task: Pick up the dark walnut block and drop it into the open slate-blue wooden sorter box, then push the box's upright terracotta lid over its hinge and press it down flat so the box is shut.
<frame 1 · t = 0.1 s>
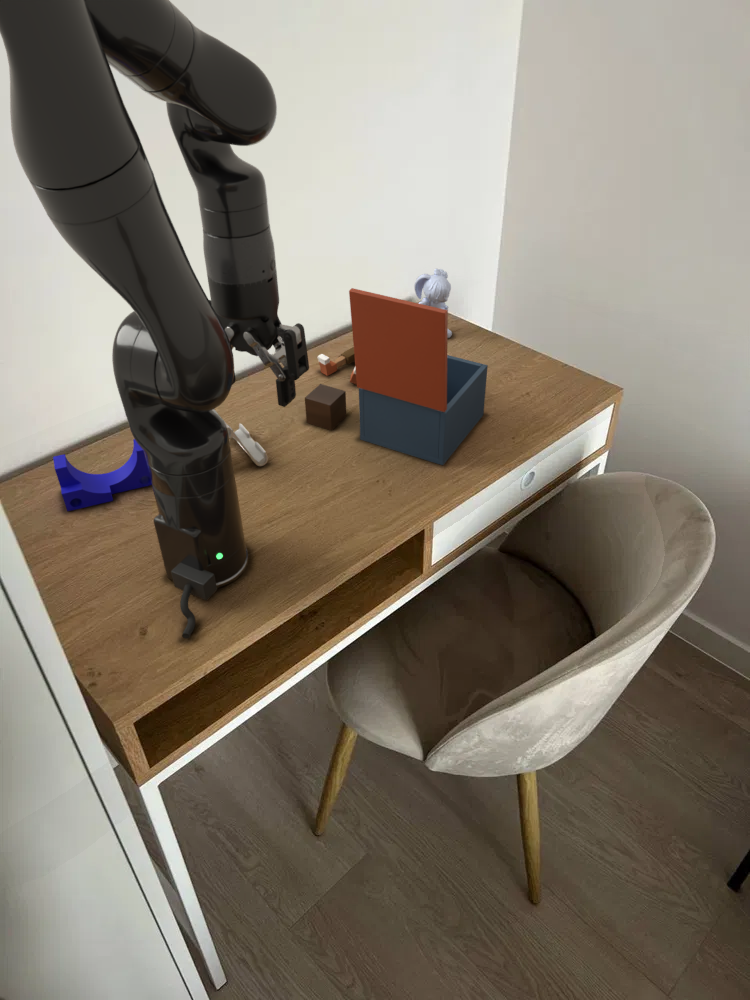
hand: (256, 394, 99), 17 cm above the table, tool pointing down, fingers open, 8 cm apart
blue cradle bracket: (111, 492, 112), on the table
walnut block: (326, 419, 125), on the table
toy figurine: (434, 336, 145), on the table
sorter box: (422, 427, 123), on the table
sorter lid: (399, 351, 107), point 17 cm above the table, hinge at 95.0°
tablet stand: (231, 458, 118), on the table
character figurine: (370, 360, 139), on the table
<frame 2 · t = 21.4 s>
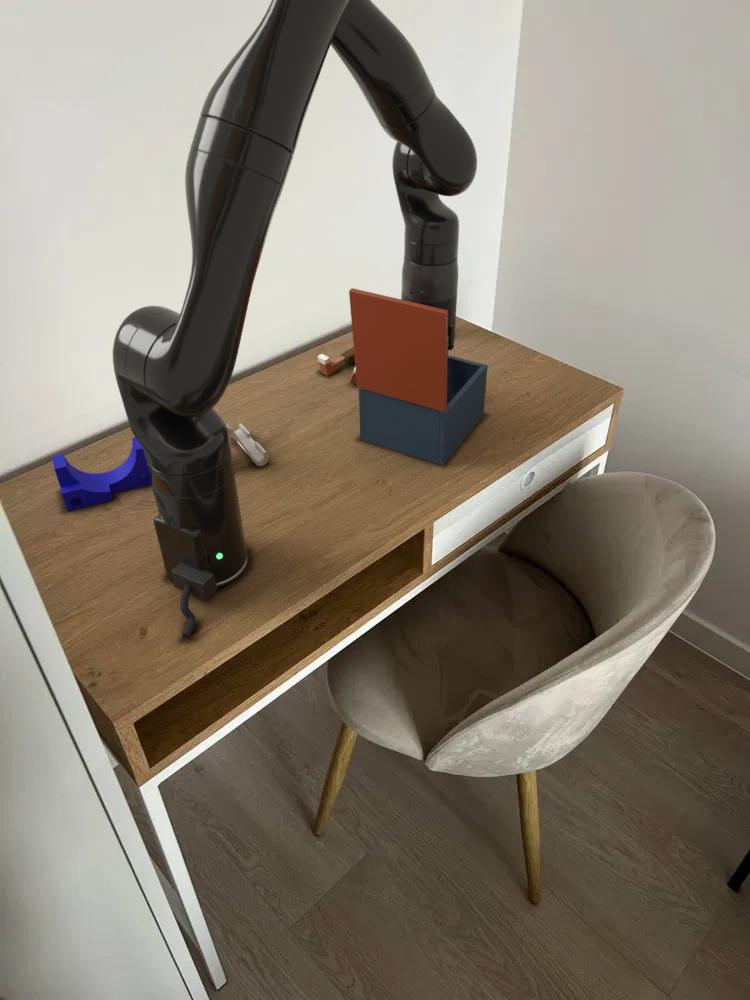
hand: (425, 392, 120), 6 cm above the table, tool pointing down, fingers open, 7 cm apart
walnut block: (425, 419, 123), point 1 cm above the table, touching sorter box
everything else where it was.
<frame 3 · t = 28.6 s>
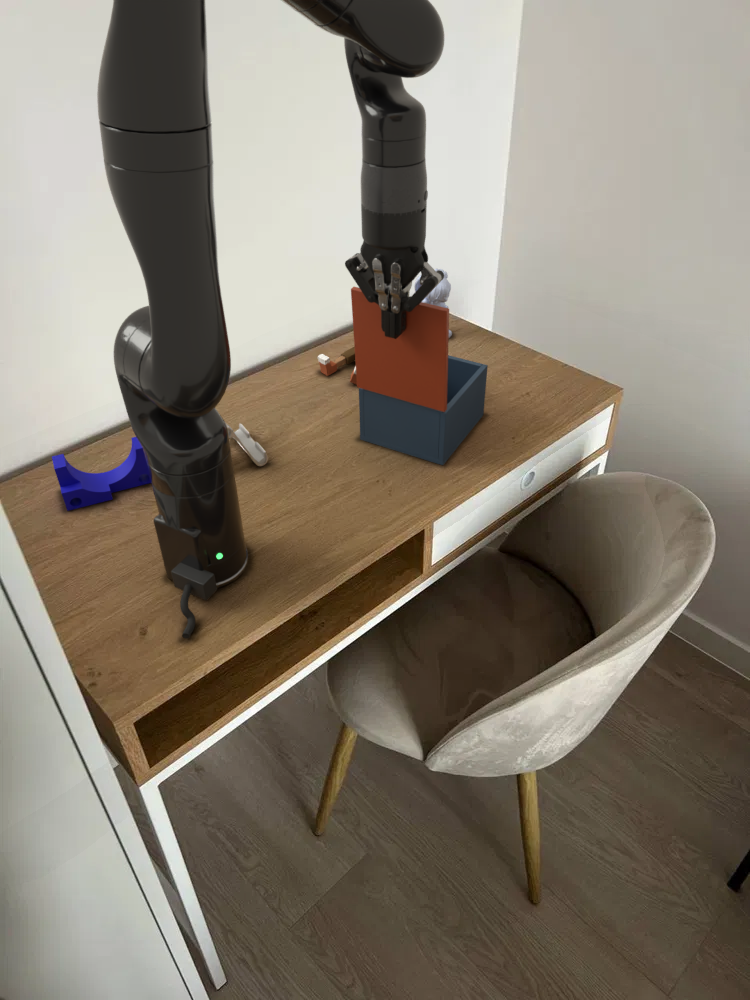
hand: (393, 335, 104), 20 cm above the table, tool pointing down, fingers closed
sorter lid: (400, 350, 107), point 17 cm above the table, hinge at 93.2°, touching gripper, hand
everything else where it was.
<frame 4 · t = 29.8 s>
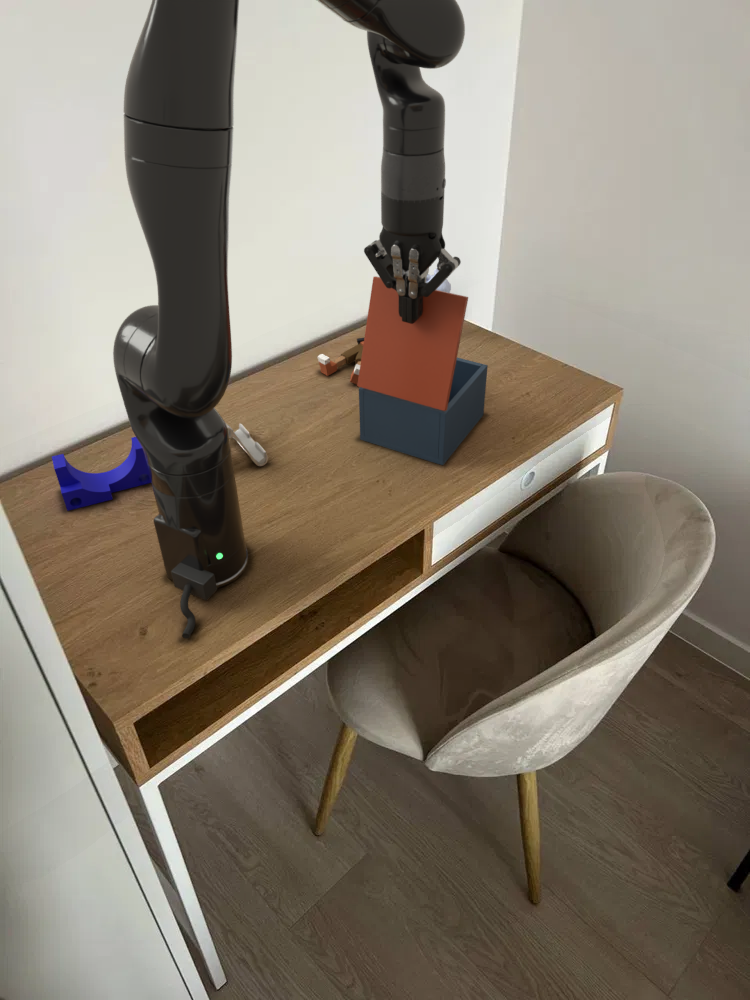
hand: (410, 320, 107), 20 cm above the table, tool pointing down, fingers closed
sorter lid: (410, 343, 109), point 16 cm above the table, hinge at 70.4°, touching gripper
everything else where it was.
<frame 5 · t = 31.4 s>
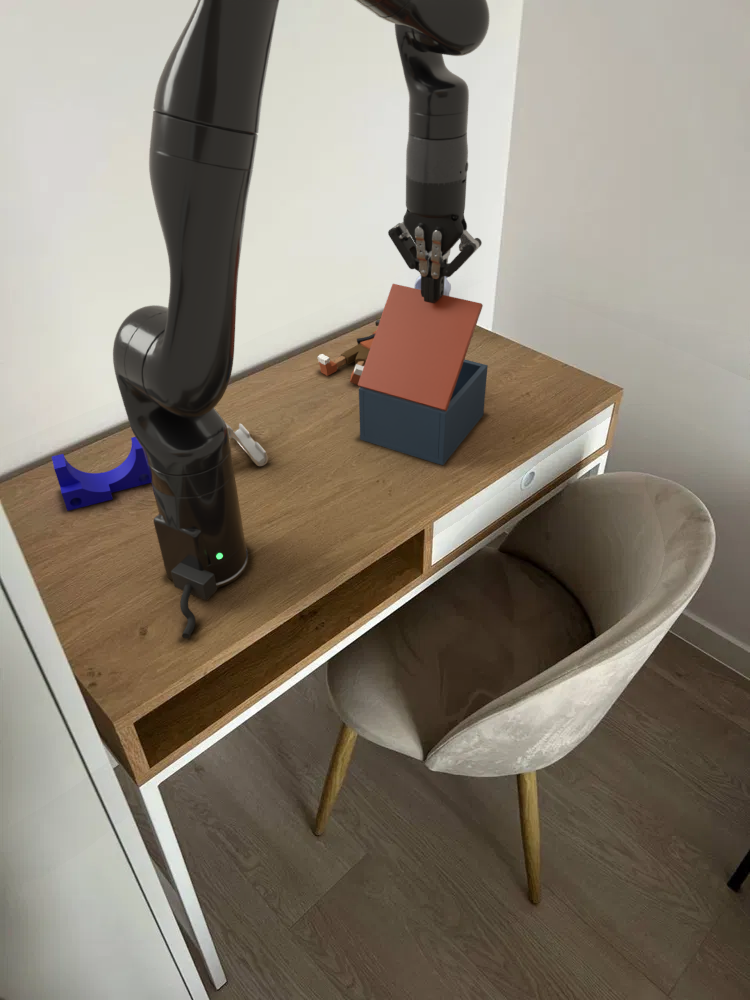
hand: (432, 300, 111), 20 cm above the table, tool pointing down, fingers closed
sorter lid: (419, 346, 112), point 15 cm above the table, hinge at 46.2°, touching gripper
everything else where it was.
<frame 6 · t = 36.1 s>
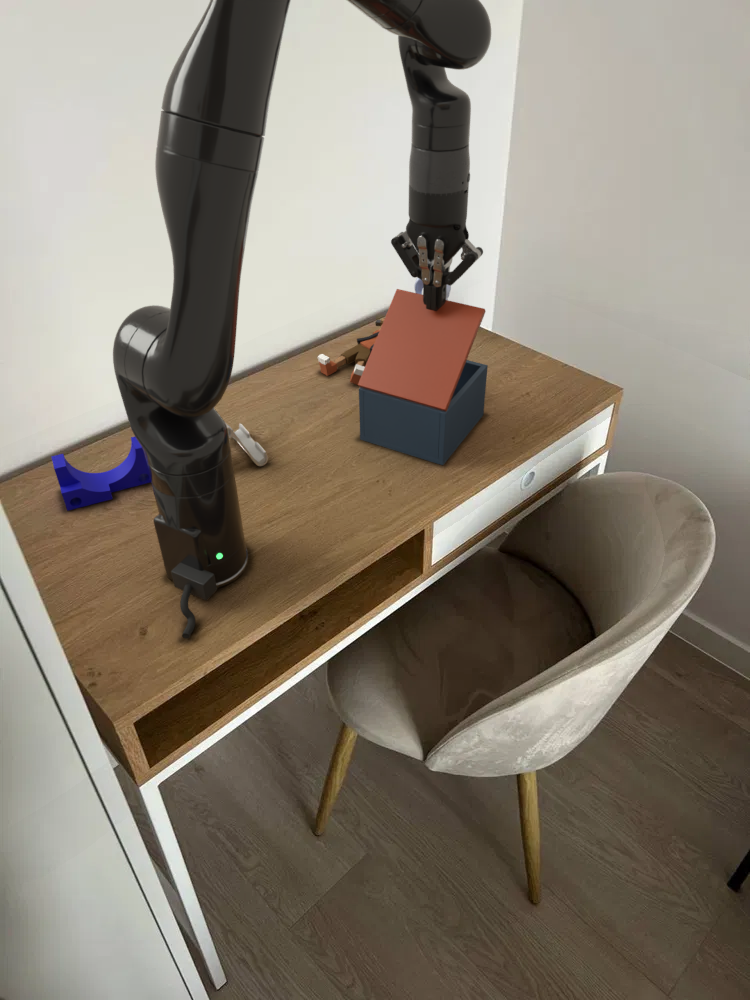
hand: (434, 307, 113), 18 cm above the table, tool pointing down, fingers closed
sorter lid: (420, 348, 113), point 14 cm above the table, hinge at 39.2°, touching gripper
everything else where it was.
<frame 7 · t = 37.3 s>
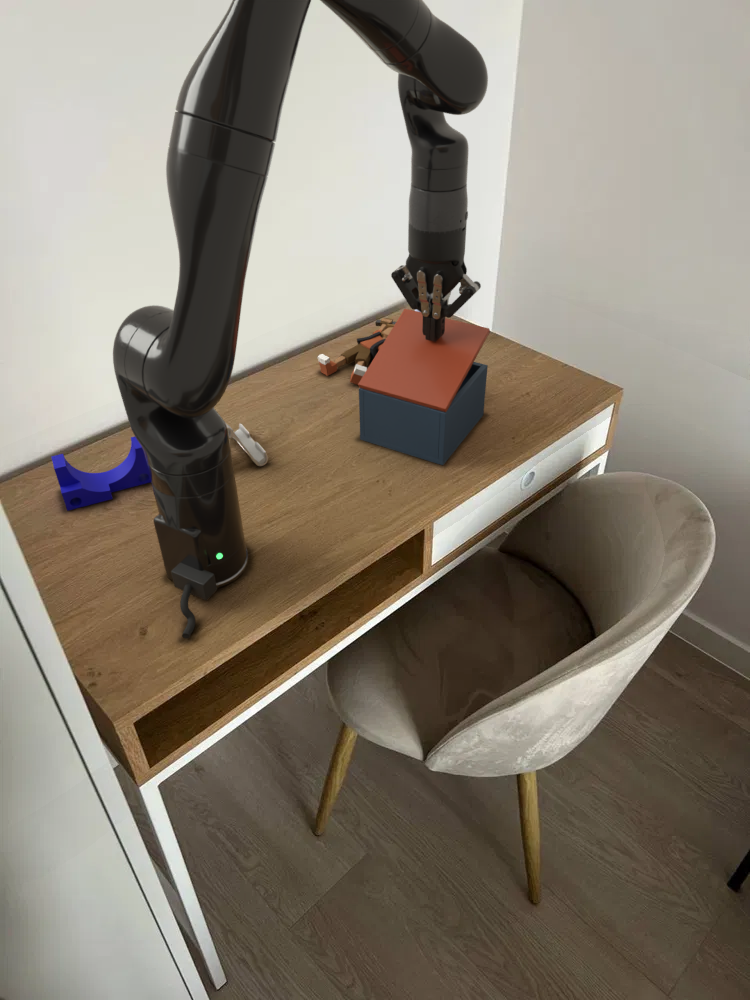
hand: (433, 338, 116), 14 cm above the table, tool pointing down, fingers closed
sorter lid: (424, 358, 115), point 12 cm above the table, hinge at 20.7°, touching gripper
everything else where it was.
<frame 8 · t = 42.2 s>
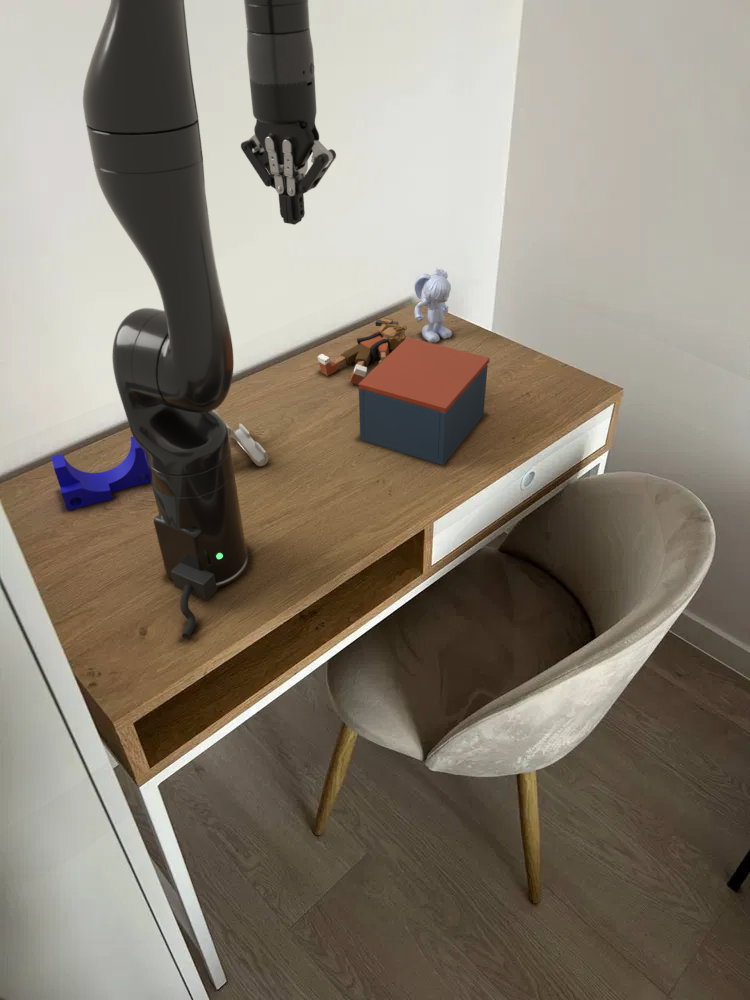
hand: (293, 221, 105), 31 cm above the table, tool pointing down, fingers closed
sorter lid: (425, 372, 117), point 9 cm above the table, hinge at 0.4°
everything else where it was.
at the end: walnut block inside the target area in the sorter box (1.0 cm from its centre), point 0.8 cm above the sorter box's base; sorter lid at +0° (first picture: +95°) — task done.
